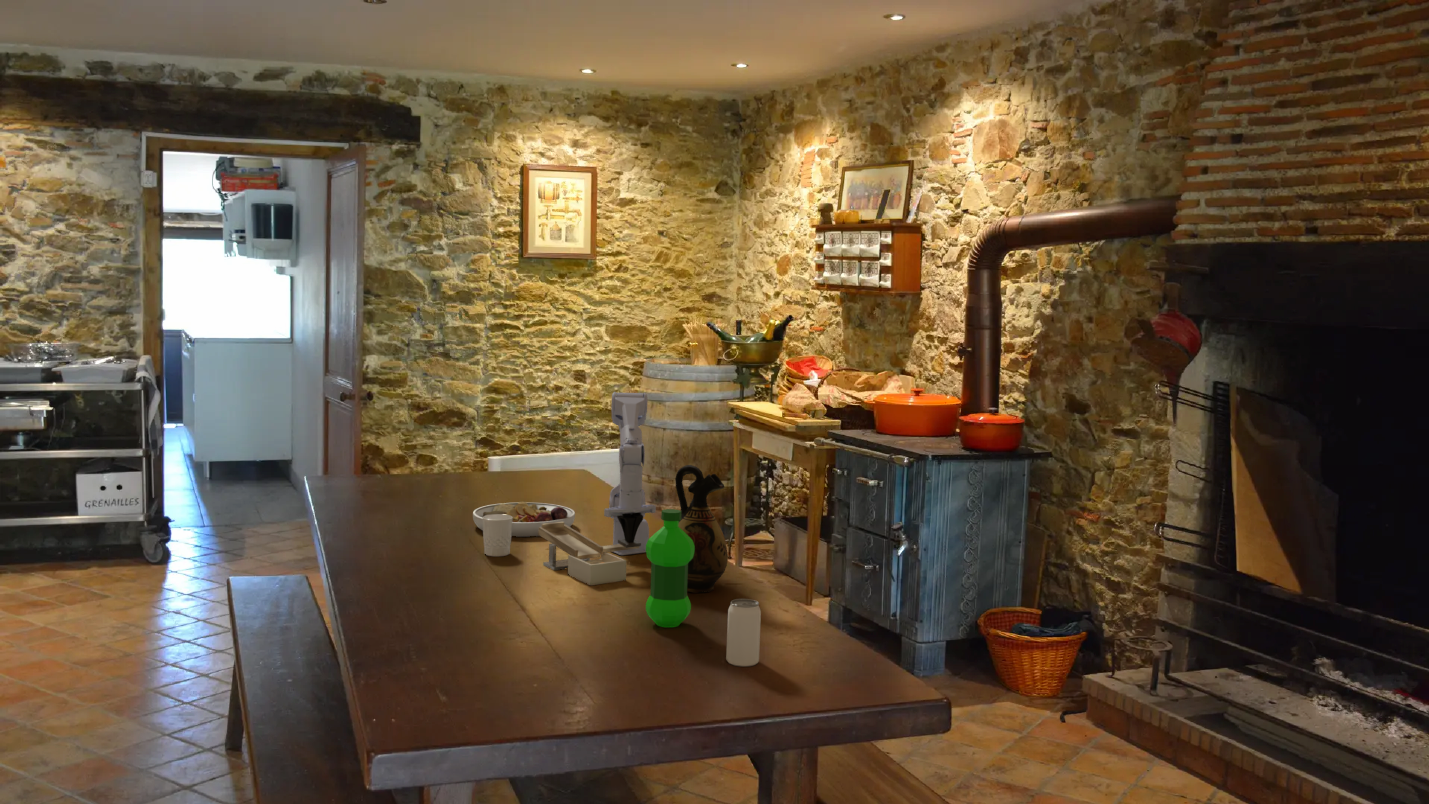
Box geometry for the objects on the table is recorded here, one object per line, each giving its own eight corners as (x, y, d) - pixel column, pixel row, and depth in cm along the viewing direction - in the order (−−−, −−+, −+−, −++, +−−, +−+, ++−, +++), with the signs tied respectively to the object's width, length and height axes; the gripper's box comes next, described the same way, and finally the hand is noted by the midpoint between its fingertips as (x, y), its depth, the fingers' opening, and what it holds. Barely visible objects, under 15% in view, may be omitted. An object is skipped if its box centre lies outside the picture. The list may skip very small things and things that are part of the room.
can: (724, 656, 224) (726, 597, 223) (756, 656, 225) (759, 598, 223) (727, 667, 218) (730, 607, 216) (760, 667, 218) (763, 607, 217)
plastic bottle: (674, 634, 237) (678, 518, 235) (634, 624, 243) (638, 511, 240) (700, 623, 246) (704, 511, 243) (660, 614, 251) (664, 504, 249)
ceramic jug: (734, 584, 279) (739, 465, 276) (714, 599, 265) (719, 474, 262) (671, 576, 285) (675, 459, 282) (648, 590, 270) (652, 468, 267)
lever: (600, 529, 308) (601, 517, 307) (641, 553, 291) (642, 540, 291) (538, 536, 297) (538, 524, 296) (577, 561, 280) (578, 548, 279)
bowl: (452, 532, 326) (452, 505, 325) (508, 514, 354) (508, 489, 353) (541, 544, 315) (542, 516, 314) (592, 525, 343) (593, 499, 342)
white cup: (505, 558, 296) (505, 521, 296) (477, 555, 298) (478, 518, 297) (516, 551, 304) (517, 515, 303) (489, 549, 306) (489, 513, 305)
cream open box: (602, 570, 288) (603, 551, 287) (625, 580, 279) (626, 560, 278) (567, 574, 282) (568, 555, 281) (590, 585, 273) (590, 565, 272)
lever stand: (583, 560, 298) (584, 537, 297) (595, 565, 293) (595, 542, 292) (543, 565, 290) (543, 542, 290) (554, 570, 286) (554, 547, 285)
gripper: (614, 494, 282) (613, 547, 283) (662, 490, 291) (661, 542, 292) (600, 490, 288) (599, 542, 289) (647, 486, 296) (646, 537, 298)
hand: (629, 542), depth 291 cm, fingers closed, pressing on lever
